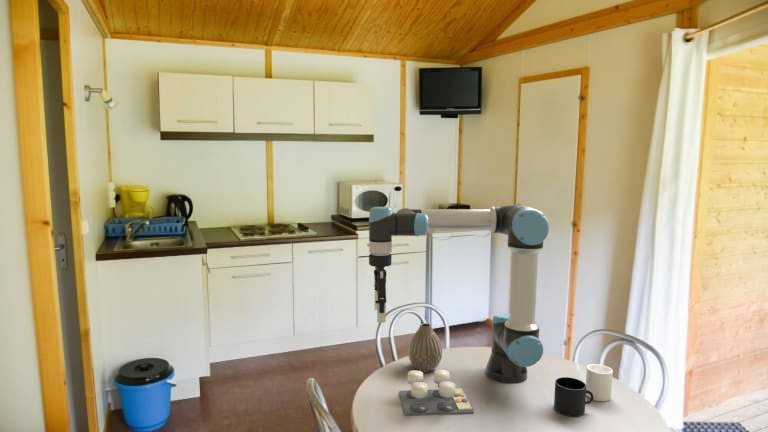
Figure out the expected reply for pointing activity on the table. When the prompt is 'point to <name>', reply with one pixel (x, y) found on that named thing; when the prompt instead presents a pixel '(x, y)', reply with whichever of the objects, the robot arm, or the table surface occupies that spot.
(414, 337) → the vase
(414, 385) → the button
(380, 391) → the table surface
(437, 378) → the button
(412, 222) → the robot arm
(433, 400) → the board
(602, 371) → the mug
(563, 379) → the mug
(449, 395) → the button
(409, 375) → the button
